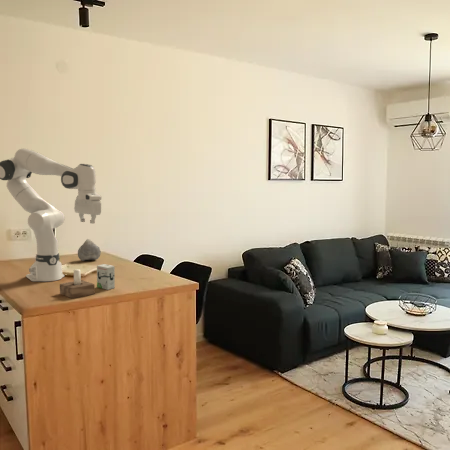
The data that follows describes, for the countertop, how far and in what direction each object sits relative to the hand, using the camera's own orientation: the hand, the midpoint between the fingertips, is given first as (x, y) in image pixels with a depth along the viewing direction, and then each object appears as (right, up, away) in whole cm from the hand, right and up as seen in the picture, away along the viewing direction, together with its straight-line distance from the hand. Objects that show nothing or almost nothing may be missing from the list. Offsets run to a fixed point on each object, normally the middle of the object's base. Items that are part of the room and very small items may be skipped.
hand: (87, 222), depth 237 cm
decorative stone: (-21, -26, +75) cm, 82 cm away
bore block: (-2, -35, -10) cm, 37 cm away
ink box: (+9, -34, +4) cm, 36 cm away
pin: (-2, -33, -10) cm, 35 cm away
